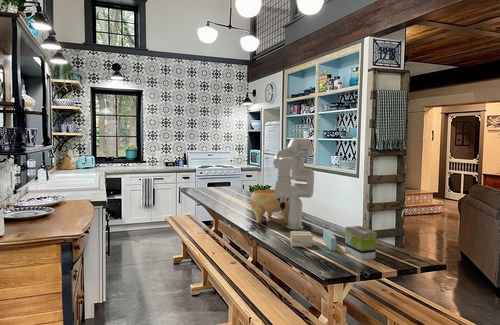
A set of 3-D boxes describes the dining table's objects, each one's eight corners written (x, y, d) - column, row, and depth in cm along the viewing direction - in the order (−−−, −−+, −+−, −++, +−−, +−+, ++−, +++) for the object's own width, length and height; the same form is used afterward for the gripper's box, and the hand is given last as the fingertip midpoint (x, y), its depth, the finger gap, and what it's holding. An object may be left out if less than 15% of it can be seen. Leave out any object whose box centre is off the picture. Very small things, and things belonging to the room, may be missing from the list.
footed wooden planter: (294, 217, 296) (295, 188, 294) (295, 227, 261) (297, 195, 260) (252, 214, 299) (253, 186, 298) (248, 224, 265) (249, 193, 263)
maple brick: (290, 242, 225) (290, 231, 224) (309, 243, 225) (310, 231, 224) (291, 246, 217) (292, 234, 216) (312, 247, 217) (312, 235, 216)
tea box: (343, 251, 210) (345, 226, 209) (358, 250, 213) (359, 225, 212) (360, 260, 196) (362, 233, 195) (375, 258, 199) (377, 231, 198)
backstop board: (322, 240, 231) (323, 229, 231) (327, 240, 231) (328, 229, 231) (330, 250, 211) (331, 238, 211) (335, 250, 211) (336, 238, 211)
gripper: (295, 178, 222) (294, 208, 223) (270, 177, 221) (269, 207, 222) (297, 179, 214) (296, 211, 215) (271, 178, 214) (270, 210, 215)
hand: (282, 209), depth 219 cm, fingers closed
